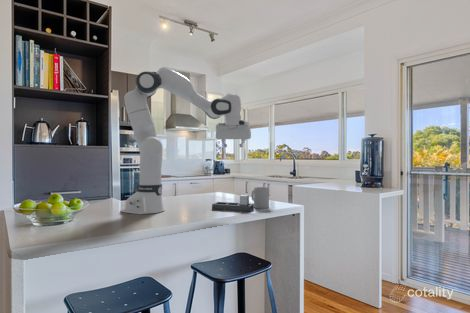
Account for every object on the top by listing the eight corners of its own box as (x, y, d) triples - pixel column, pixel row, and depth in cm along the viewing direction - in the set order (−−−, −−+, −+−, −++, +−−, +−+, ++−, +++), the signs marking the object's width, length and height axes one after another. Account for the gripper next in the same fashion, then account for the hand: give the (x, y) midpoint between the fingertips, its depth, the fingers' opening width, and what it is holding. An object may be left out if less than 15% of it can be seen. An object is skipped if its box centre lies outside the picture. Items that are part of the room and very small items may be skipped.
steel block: (239, 210, 159) (239, 195, 159) (241, 209, 163) (241, 194, 163) (247, 211, 158) (247, 196, 158) (248, 209, 162) (248, 195, 162)
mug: (272, 207, 169) (272, 188, 169) (261, 209, 163) (261, 189, 163) (257, 204, 178) (257, 186, 178) (246, 206, 172) (246, 187, 172)
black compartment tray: (212, 209, 162) (212, 204, 162) (217, 206, 170) (217, 201, 170) (249, 212, 155) (250, 206, 155) (253, 209, 164) (253, 203, 164)
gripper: (213, 122, 168) (213, 147, 168) (249, 121, 162) (248, 147, 163) (217, 123, 174) (217, 147, 175) (251, 122, 168) (251, 147, 169)
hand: (233, 147), depth 169 cm, fingers open, 8 cm apart
